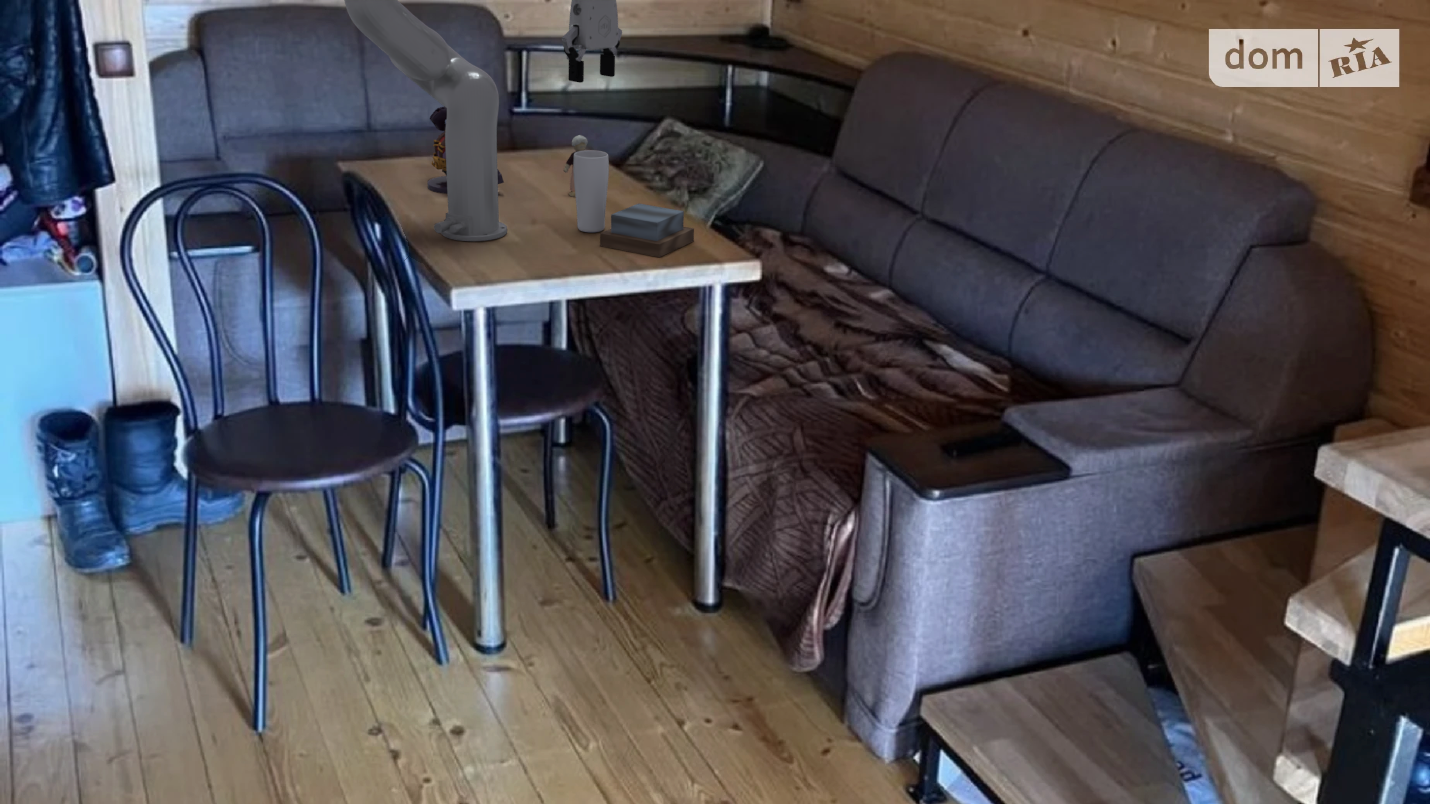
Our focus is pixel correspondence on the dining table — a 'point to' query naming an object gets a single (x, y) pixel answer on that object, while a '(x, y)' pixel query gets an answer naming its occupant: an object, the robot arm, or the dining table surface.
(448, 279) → the dining table surface
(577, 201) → the drinking glass
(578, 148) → the grandmother figurine
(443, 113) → the figurine
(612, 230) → the stone block on base
